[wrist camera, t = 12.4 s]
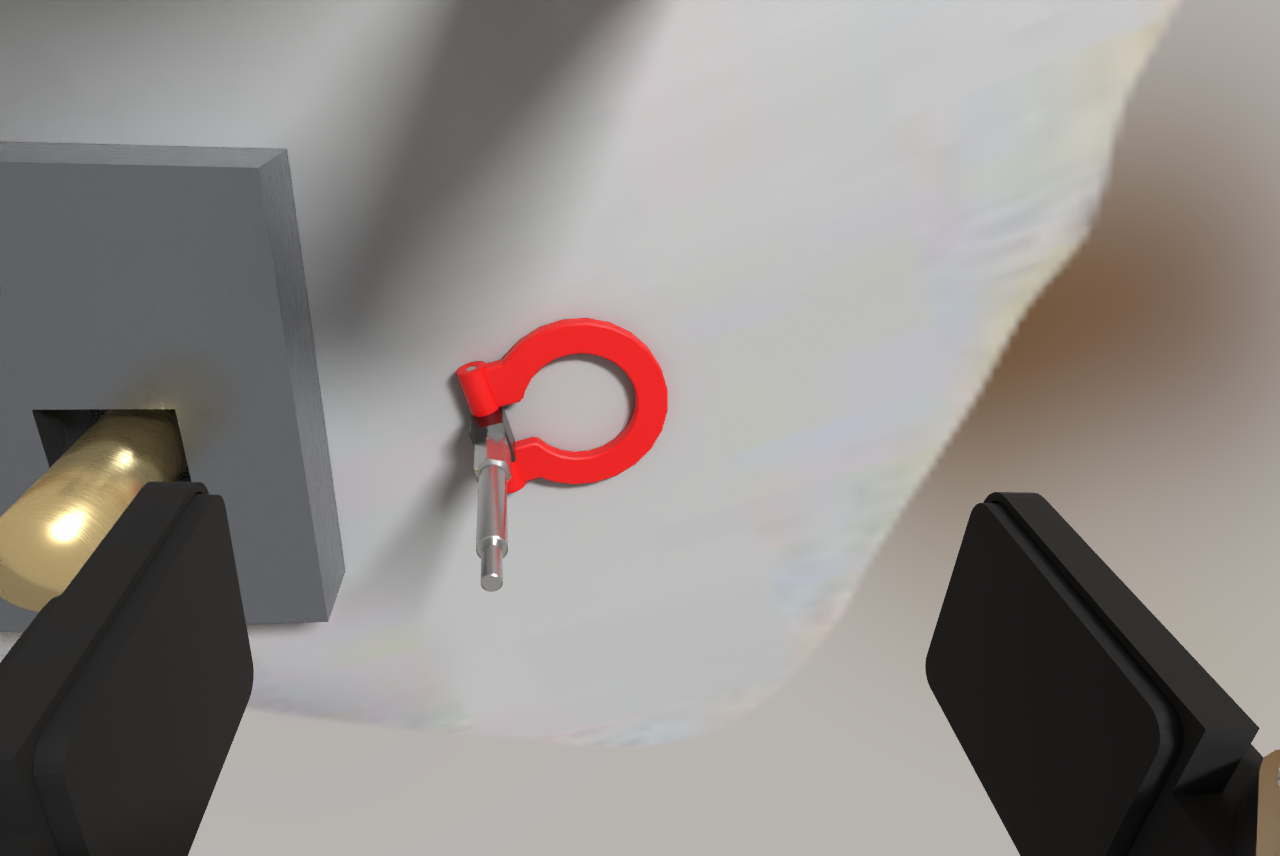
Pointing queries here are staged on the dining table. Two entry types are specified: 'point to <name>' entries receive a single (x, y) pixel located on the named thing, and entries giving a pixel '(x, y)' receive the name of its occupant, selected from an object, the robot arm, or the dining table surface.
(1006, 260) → the dining table surface
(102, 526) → the brass pin
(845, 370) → the dining table surface
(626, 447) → the tow hook
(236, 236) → the grey block with hole
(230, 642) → the robot arm
